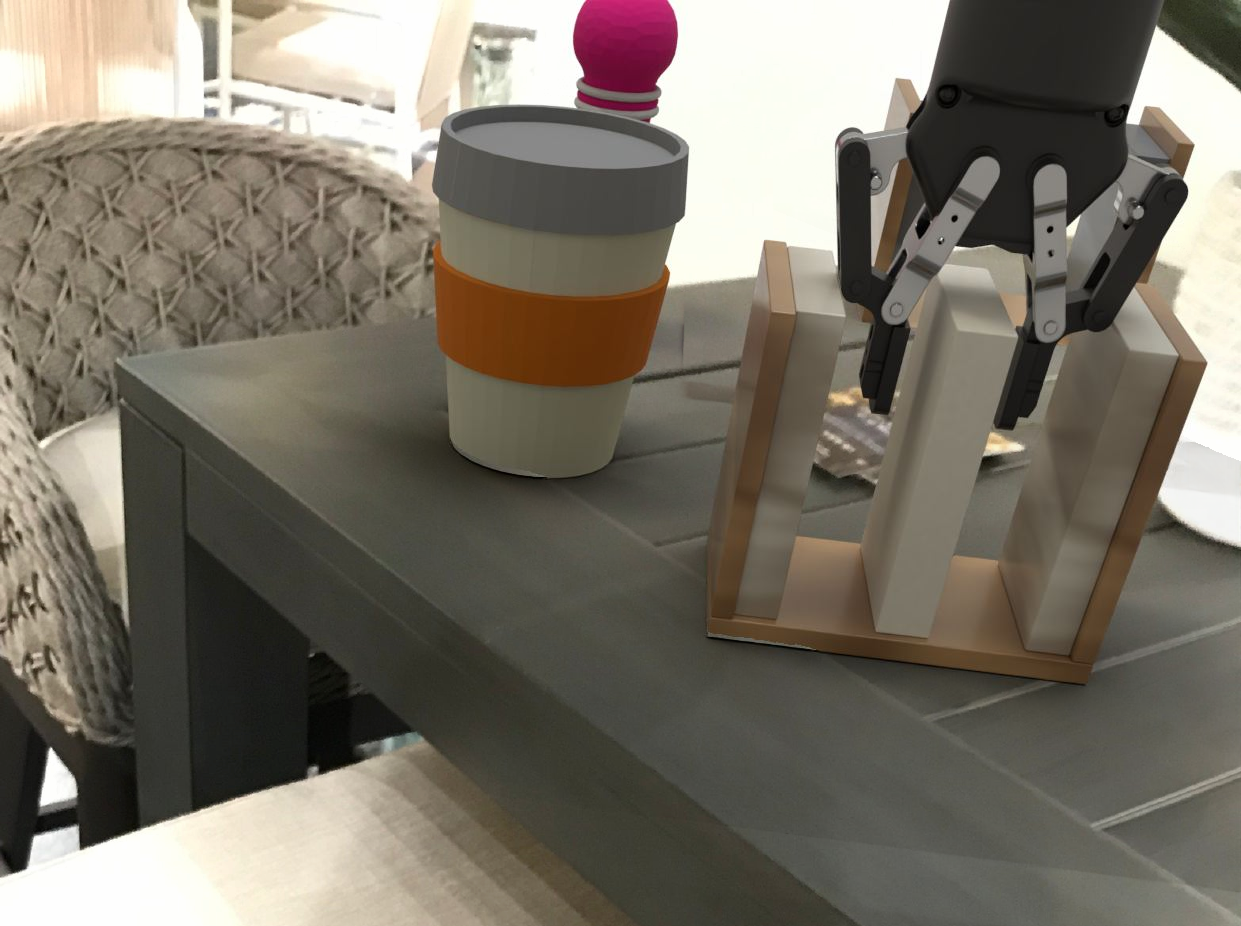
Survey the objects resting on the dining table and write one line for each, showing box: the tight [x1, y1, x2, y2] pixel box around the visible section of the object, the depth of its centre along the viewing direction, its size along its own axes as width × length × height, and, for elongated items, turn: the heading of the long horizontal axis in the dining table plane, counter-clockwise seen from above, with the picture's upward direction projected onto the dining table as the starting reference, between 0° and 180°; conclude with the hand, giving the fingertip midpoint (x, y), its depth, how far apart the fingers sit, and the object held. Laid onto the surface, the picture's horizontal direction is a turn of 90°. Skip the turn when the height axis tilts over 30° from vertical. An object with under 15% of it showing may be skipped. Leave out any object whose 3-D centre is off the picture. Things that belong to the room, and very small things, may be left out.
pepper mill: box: [572, 0, 679, 123], centre depth 97 cm, size 7×7×20 cm
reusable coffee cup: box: [431, 104, 690, 479], centre depth 83 cm, size 13×13×15 cm
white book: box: [860, 263, 1018, 638], centre depth 71 cm, size 2×9×13 cm, turn 173°
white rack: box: [705, 239, 1208, 685], centre depth 71 cm, size 17×10×14 cm, turn 83°
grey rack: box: [856, 77, 1196, 347], centre depth 105 cm, size 17×10×13 cm, turn 83°
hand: (940, 414), depth 70 cm, fingers open, 4 cm apart
